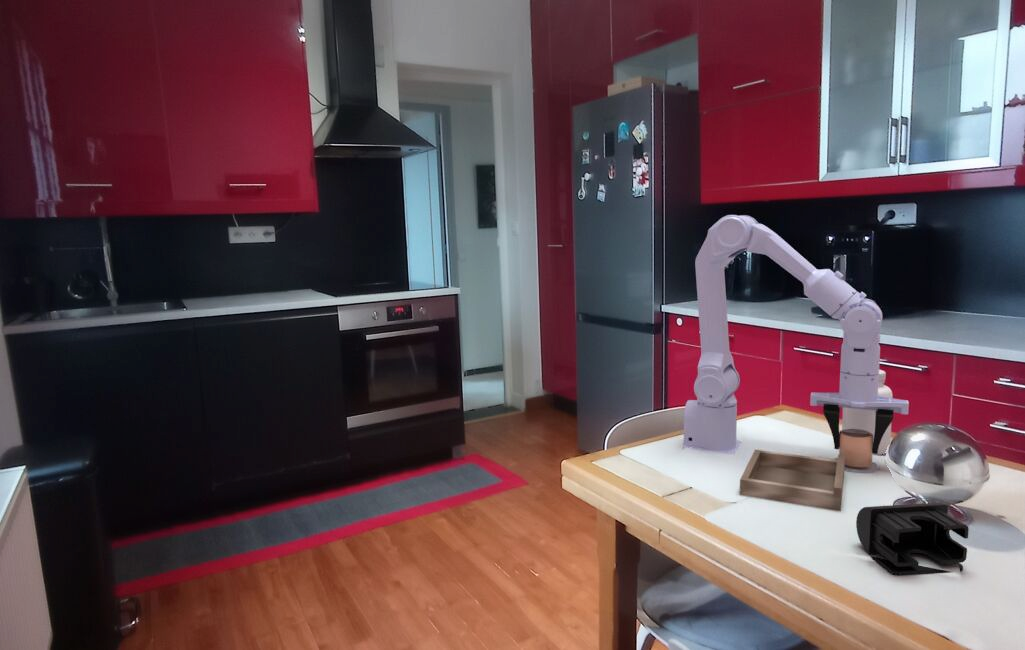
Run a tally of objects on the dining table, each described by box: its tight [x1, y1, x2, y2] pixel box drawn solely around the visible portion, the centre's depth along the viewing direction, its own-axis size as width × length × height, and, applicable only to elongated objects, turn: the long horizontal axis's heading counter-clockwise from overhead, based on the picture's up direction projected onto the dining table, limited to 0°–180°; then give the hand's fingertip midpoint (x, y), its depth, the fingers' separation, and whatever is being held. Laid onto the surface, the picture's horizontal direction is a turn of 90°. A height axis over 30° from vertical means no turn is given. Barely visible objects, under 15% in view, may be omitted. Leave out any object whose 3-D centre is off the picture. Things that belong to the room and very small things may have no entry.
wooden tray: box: [739, 449, 845, 512], centre depth 101 cm, size 14×15×4 cm
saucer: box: [832, 457, 879, 474], centre depth 109 cm, size 7×7×1 cm
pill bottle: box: [841, 369, 894, 456], centre depth 117 cm, size 8×8×15 cm
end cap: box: [855, 502, 970, 577], centre depth 79 cm, size 10×7×7 cm
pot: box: [838, 429, 874, 467], centre depth 108 cm, size 5×5×5 cm
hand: (855, 449), depth 108 cm, fingers open, 5 cm apart
